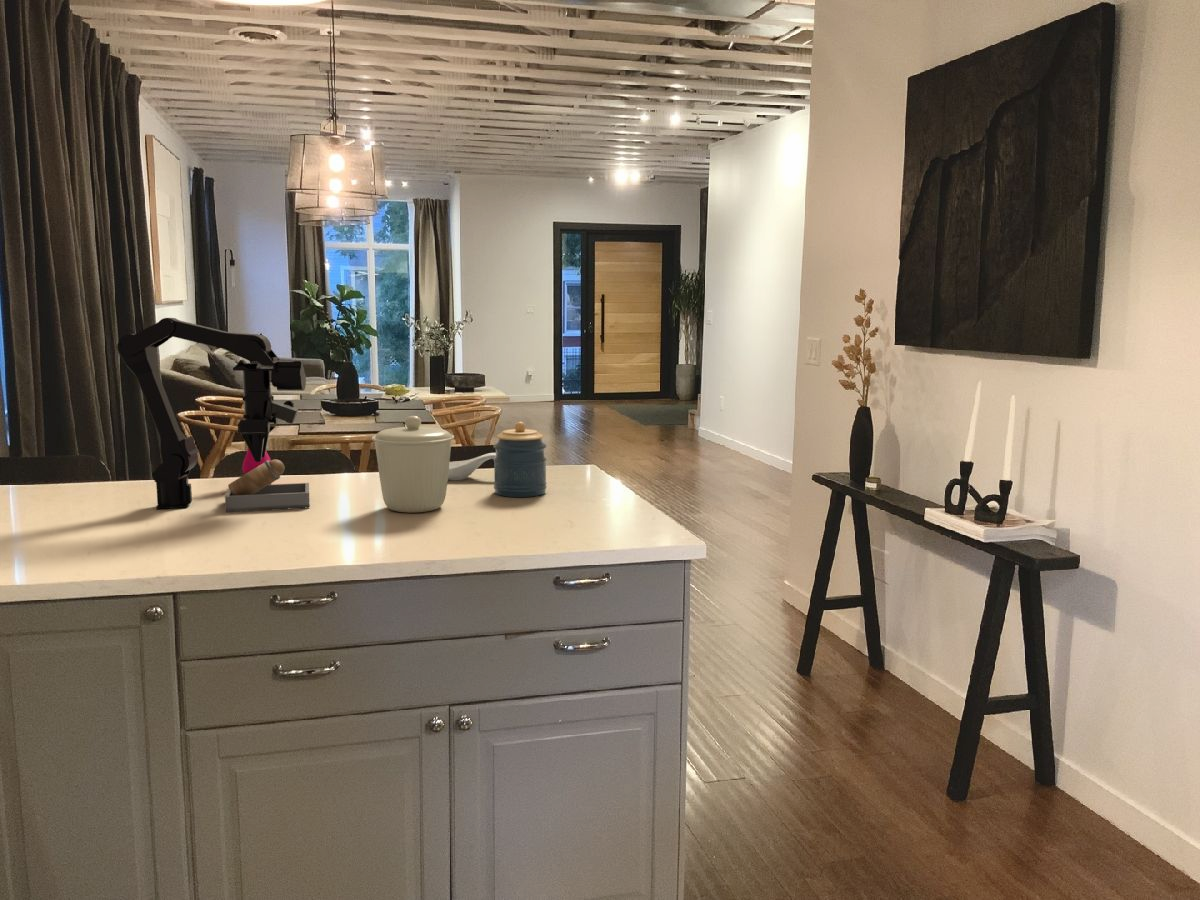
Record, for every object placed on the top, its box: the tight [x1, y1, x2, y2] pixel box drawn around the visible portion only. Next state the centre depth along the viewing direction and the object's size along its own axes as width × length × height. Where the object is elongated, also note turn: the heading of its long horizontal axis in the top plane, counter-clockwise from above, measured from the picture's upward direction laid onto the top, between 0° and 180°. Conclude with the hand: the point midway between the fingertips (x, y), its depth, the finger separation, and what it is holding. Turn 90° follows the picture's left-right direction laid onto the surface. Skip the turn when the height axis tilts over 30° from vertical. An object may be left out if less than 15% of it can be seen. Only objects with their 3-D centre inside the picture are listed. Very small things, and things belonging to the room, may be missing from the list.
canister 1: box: [371, 415, 455, 514], centre depth 211 cm, size 18×18×21 cm
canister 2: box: [493, 421, 548, 498], centre depth 230 cm, size 13×13×18 cm
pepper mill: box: [241, 447, 272, 485], centre depth 236 cm, size 7×7×20 cm
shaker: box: [227, 459, 285, 496], centre depth 214 cm, size 5×5×12 cm
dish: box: [224, 482, 310, 513], centre depth 215 cm, size 18×13×4 cm
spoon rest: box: [448, 452, 496, 481], centre depth 250 cm, size 24×12×7 cm, turn 86°
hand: (260, 459), depth 213 cm, fingers open, 6 cm apart
